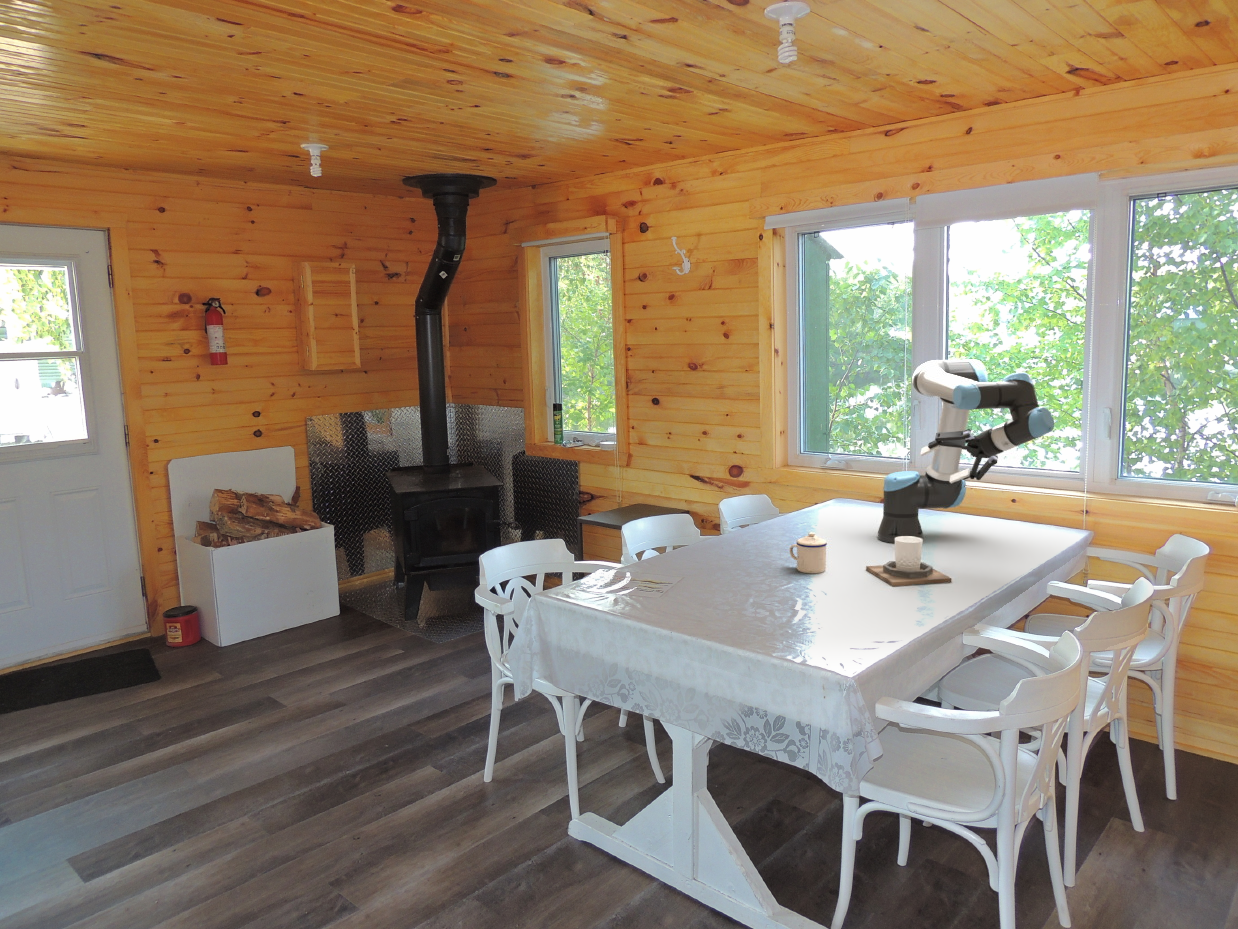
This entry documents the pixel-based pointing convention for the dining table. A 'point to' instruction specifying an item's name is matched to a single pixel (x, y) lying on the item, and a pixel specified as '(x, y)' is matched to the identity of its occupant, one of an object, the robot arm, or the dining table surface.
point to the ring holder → (907, 574)
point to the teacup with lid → (810, 554)
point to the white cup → (908, 553)
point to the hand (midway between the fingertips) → (936, 466)
